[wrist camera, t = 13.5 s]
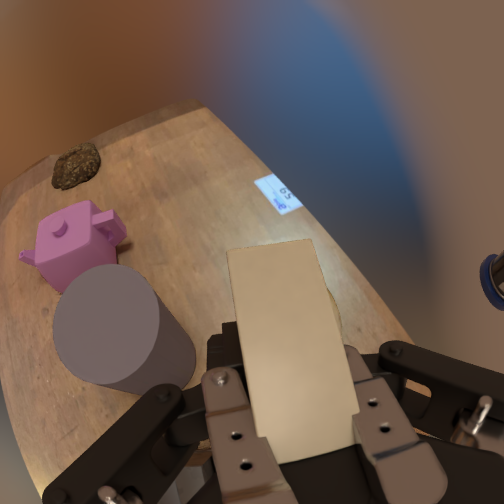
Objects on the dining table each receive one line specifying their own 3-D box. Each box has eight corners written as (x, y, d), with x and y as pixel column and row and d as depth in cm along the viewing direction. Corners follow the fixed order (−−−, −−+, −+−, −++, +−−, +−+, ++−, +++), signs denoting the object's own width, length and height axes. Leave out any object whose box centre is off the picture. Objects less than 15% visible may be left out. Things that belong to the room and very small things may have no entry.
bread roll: (100, 144, 56) (93, 128, 52) (102, 174, 50) (94, 156, 46) (54, 166, 53) (46, 151, 49) (51, 199, 47) (41, 183, 43)
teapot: (44, 306, 35) (5, 276, 27) (45, 253, 40) (14, 218, 32) (139, 273, 39) (111, 232, 30) (130, 220, 44) (109, 176, 35)
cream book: (278, 339, 17) (311, 237, 8) (296, 425, 14) (367, 440, 5) (240, 346, 17) (225, 249, 8) (256, 432, 14) (263, 467, 5)
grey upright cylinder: (134, 407, 29) (64, 397, 16) (112, 334, 34) (48, 287, 21) (209, 382, 31) (178, 361, 18) (180, 309, 36) (142, 247, 23)
